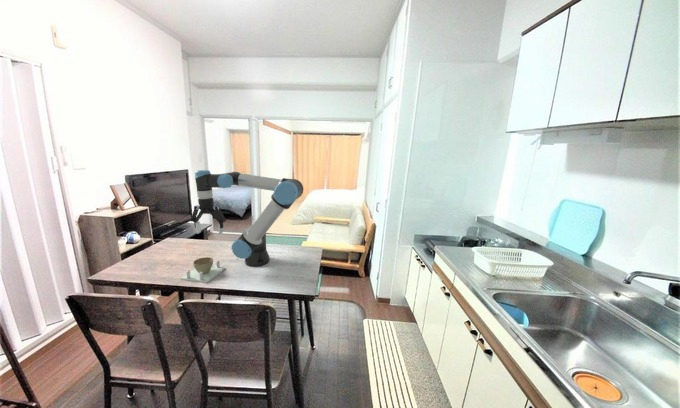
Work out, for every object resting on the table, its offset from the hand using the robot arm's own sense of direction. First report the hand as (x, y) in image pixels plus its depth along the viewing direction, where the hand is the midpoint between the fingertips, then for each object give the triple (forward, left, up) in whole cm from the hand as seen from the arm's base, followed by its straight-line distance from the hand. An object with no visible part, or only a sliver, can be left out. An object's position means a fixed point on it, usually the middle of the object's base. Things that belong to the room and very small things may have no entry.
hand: (209, 233), depth 139 cm
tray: (+1, +7, -23) cm, 24 cm away
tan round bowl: (+1, +7, -22) cm, 23 cm away
